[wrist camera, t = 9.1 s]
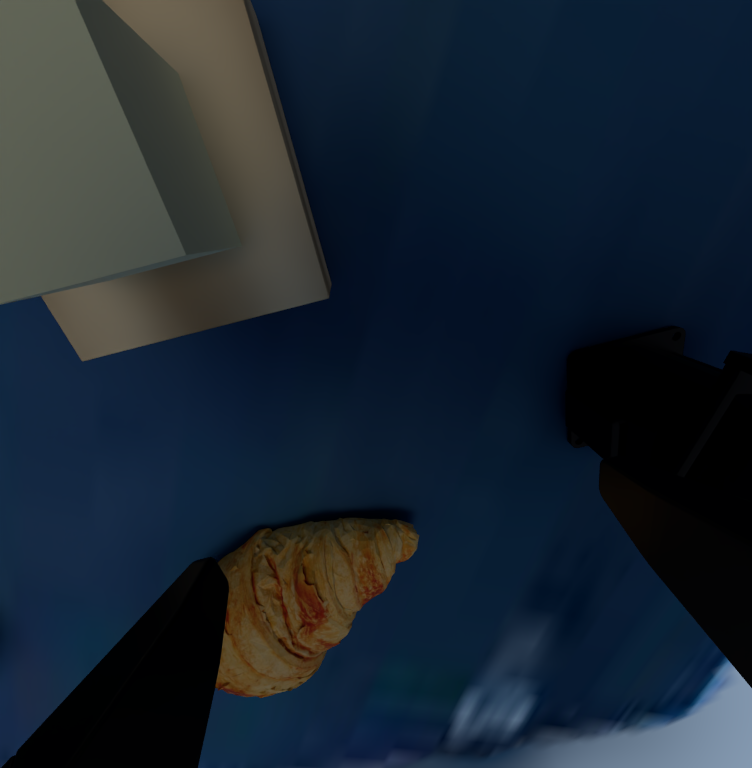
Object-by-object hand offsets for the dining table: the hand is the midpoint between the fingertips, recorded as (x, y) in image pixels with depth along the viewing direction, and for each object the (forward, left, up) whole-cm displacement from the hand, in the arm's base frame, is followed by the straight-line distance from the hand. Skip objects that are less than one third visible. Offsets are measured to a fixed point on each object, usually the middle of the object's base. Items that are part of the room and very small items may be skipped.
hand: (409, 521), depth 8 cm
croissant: (+10, +15, -12) cm, 22 cm away
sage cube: (+6, -9, -8) cm, 13 cm away
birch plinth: (+6, -9, -12) cm, 16 cm away
